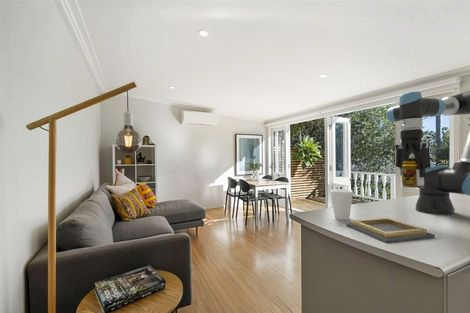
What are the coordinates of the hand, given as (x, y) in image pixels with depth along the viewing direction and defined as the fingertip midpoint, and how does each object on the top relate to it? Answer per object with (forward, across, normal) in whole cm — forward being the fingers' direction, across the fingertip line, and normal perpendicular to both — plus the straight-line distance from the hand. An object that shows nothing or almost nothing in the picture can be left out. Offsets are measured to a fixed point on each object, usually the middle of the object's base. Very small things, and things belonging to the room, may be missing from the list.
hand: (412, 184), depth 98 cm
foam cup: (+17, -16, -22) cm, 32 cm away
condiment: (+1, -1, 0) cm, 1 cm away
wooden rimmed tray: (+17, +5, -18) cm, 25 cm away
